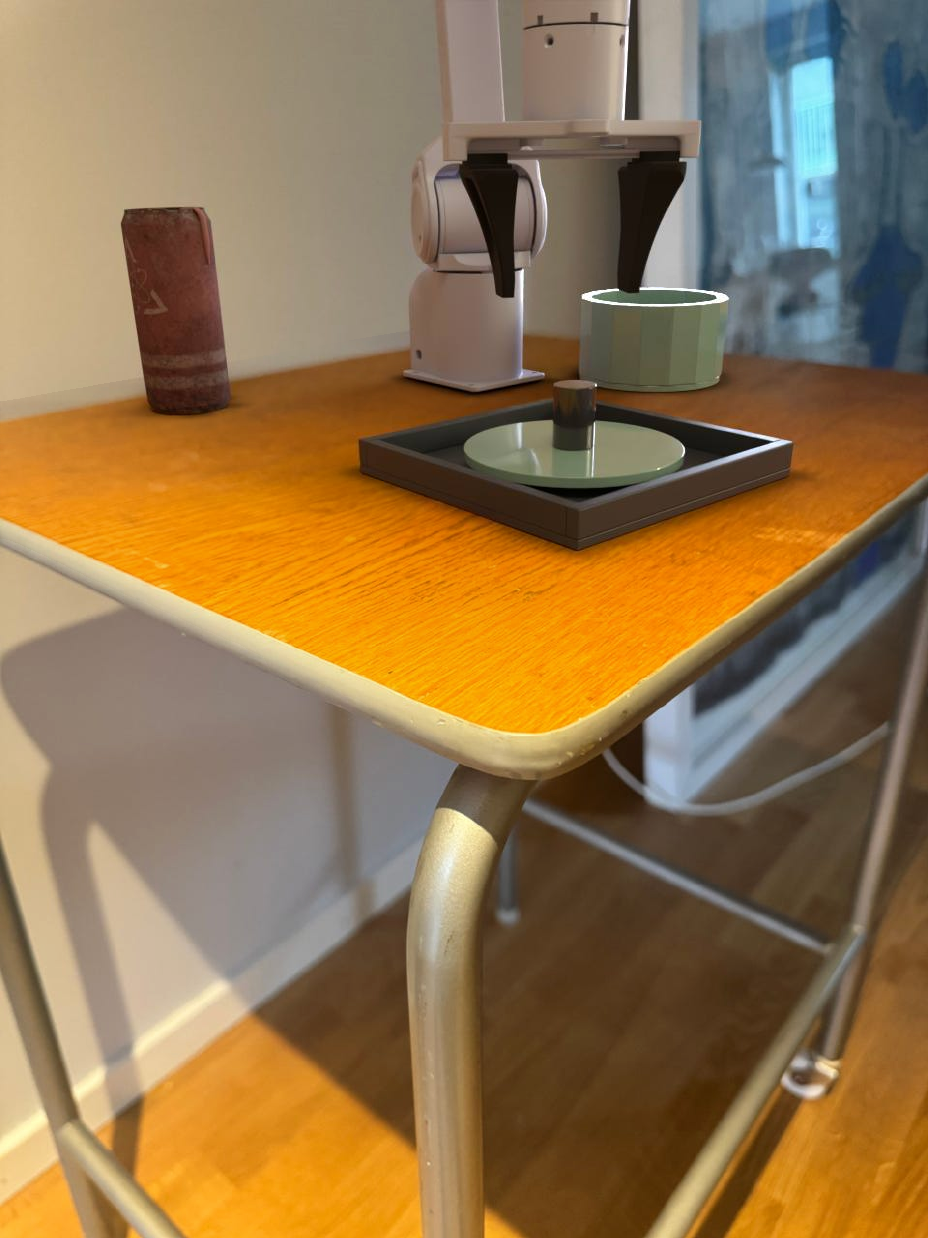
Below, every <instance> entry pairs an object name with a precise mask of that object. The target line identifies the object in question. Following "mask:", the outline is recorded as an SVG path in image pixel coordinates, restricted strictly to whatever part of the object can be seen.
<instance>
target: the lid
mask: <svg viewBox="0 0 928 1238" xmlns="http://www.w3.org/2000/svg"><path fill="white" fill-rule="evenodd" d="M552 386H553V388H552V389H553V391H552V392H553V394H552V398H553V420H545V421H532V422H523V423H515V424H510V425H504V426H500V427H495V428H492V429H488V430H485V431H483V432H480V433H478V434H476V435H474V436H472V437H470V438H469V439H468V440H467V441H466V442H465V444H464V447H463V457H464V460H465V462H466V463H467V465H468V466H470V467H471V468H472V469H474V470H476V471H479V472H482V473H485V474H488V475H492V476H495V477H498V478H501V479H504V480H507V481H511V482H514V483H519V484H525V485H532V486H541V487H553V488H605V487H618V486H626V485H633V484H638V483H644V482H647V481H651V480H654V479H657V478H660V477H664V476H667V475H669V474H672V473H674V472H675V471H677V470H678V469H679V468H680V467H681V466H682V465H683V463H684V458H685V448H684V446H683V444H682V443H681V442H679V441H678V440H677V439H675V438H674V437H672V436H669V435H667V434H665V433H662V432H659V431H656V430H653V429H649V428H645V427H640V426H636V425H630V424H623V423H616V422H606V421H595V413H596V400H597V390H598V389H597V388H598V387H597V385H596V384H595V383H593V382H590V381H583V380H580V379H568V380H567V379H566V380H560V381H556V382H554V383H553V385H552Z"/></svg>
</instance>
